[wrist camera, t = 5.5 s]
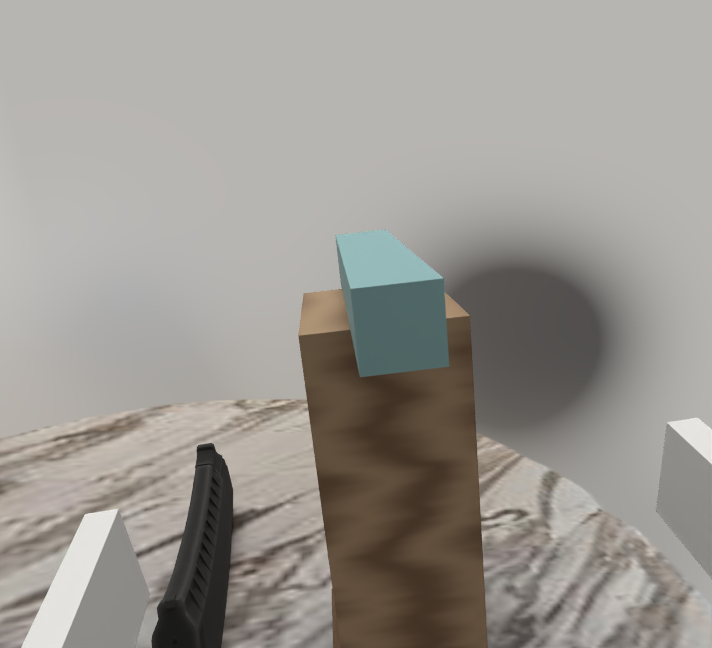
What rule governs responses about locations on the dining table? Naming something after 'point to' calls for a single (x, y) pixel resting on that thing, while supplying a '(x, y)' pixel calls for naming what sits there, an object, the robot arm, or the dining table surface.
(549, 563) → the dining table surface
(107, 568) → the robot arm
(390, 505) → the stand
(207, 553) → the magazine
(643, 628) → the dining table surface
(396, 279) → the teal square bar
